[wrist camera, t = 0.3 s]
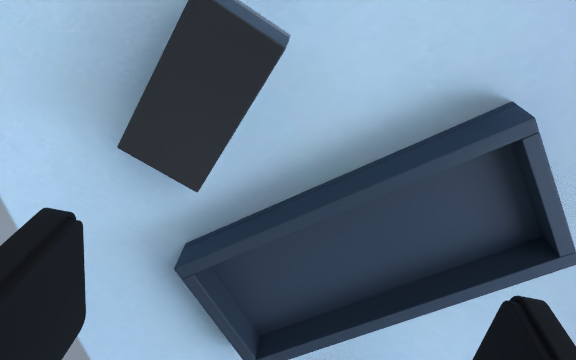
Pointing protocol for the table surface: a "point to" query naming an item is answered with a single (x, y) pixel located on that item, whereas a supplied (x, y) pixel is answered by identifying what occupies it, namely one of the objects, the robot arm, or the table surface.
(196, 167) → the eraser
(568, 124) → the table surface
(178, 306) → the table surface
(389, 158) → the tray
